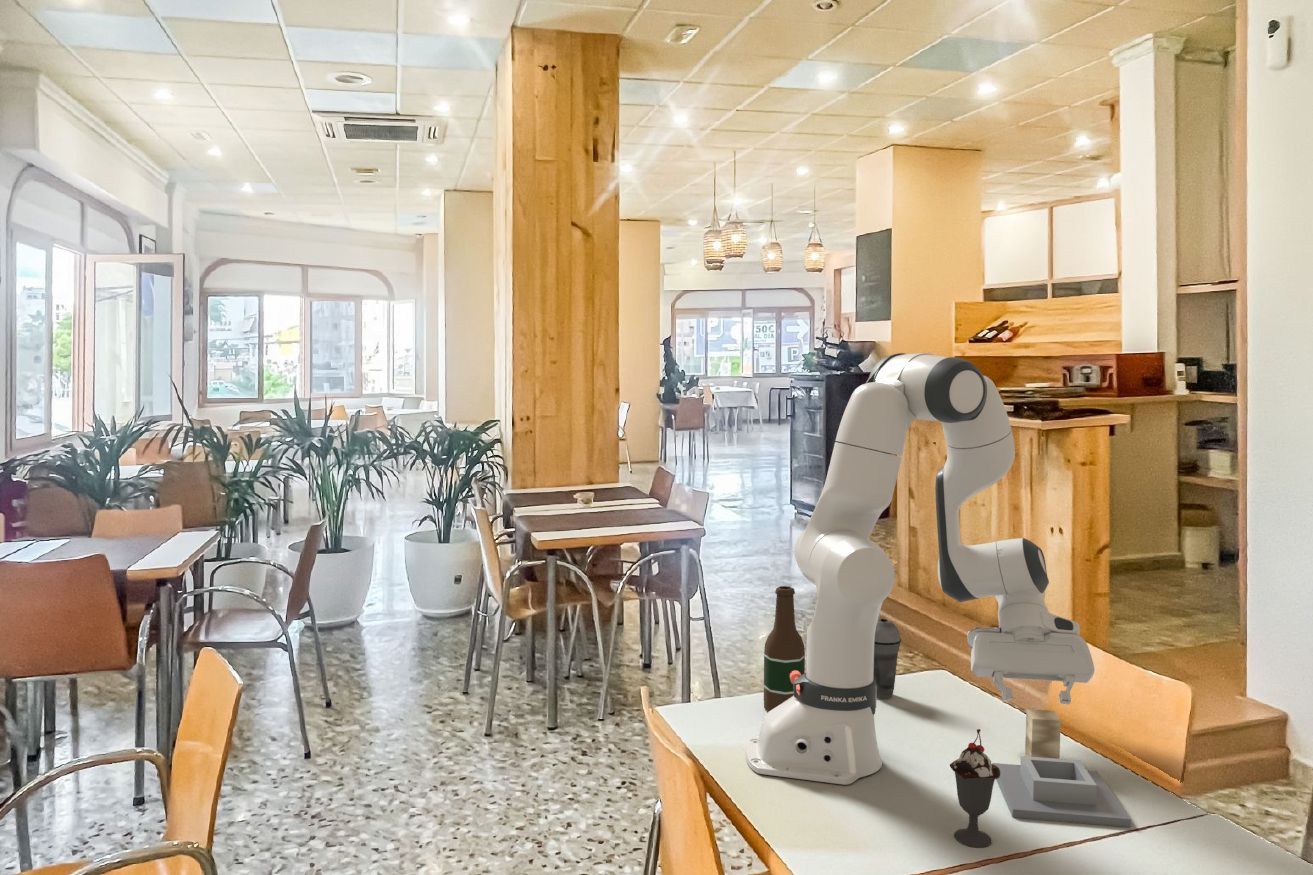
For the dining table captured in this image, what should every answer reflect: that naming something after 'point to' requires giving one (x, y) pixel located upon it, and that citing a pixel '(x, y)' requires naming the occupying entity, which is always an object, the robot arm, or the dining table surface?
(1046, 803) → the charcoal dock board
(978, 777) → the sundae
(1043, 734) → the wooden block
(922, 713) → the dining table surface
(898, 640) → the beverage cup
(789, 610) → the beer bottle
